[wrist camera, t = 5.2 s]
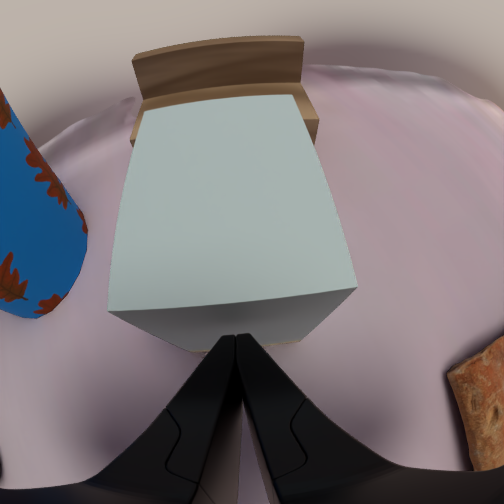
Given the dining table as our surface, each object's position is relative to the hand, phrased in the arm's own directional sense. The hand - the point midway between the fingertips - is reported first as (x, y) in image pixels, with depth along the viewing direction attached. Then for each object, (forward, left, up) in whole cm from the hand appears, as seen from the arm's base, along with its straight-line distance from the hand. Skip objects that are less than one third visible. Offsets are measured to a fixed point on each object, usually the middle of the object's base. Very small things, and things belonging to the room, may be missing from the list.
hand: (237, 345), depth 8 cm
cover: (+5, +5, -7) cm, 10 cm away
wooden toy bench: (+11, +13, -7) cm, 19 cm away
